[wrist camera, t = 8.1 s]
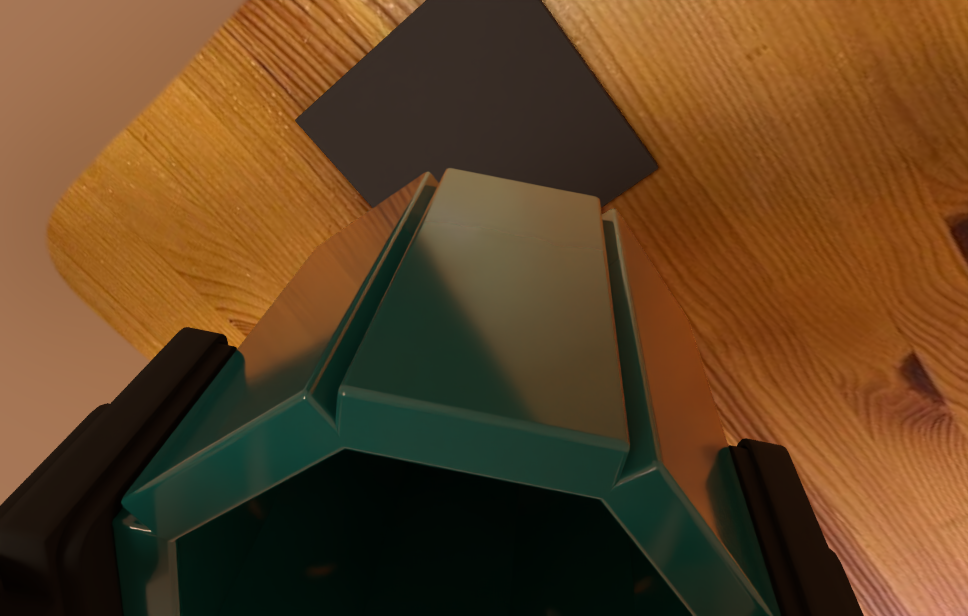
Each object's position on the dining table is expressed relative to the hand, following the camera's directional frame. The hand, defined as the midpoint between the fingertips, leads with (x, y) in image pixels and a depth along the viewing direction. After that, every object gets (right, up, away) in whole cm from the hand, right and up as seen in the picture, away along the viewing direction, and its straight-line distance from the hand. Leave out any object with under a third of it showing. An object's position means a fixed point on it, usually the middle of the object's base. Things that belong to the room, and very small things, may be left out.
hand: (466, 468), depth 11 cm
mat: (0, +9, +17) cm, 19 cm away
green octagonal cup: (0, +2, +3) cm, 4 cm away
